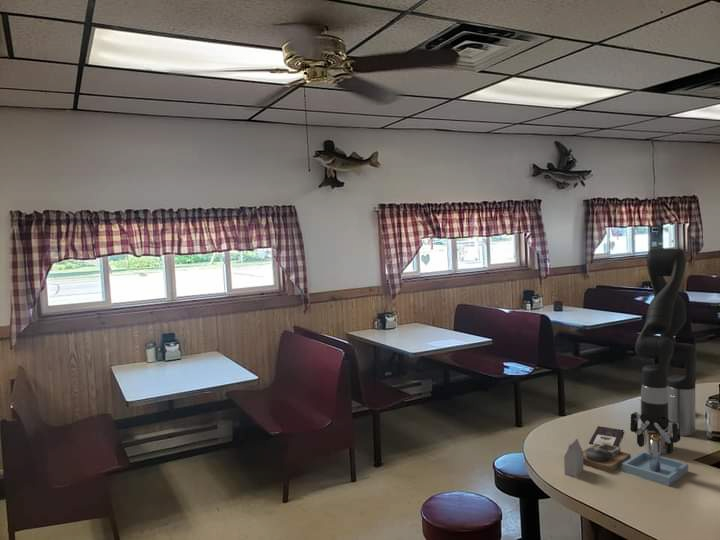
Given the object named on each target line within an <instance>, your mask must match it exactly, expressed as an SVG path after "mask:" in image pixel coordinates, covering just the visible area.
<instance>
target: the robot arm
mask: <svg viewBox="0 0 720 540" xmlns="http://www.w3.org/2000/svg"><path fill="white" fill-rule="evenodd" d="M686 265H687V257H686V253H685V251H684V250H683V249H682V248H681V249H680V248H653V249H650V250H649V251H648V253H647V254H646V266H647V271H648V276H649V279H650V283H651V287H652V291H653V298H652V299H651V301H650V303H649V305H648V307H647V308H648V309H647V311H646V319H645V323H644V326H643V328H642V329H641V331H640V333H639V335H638V337H637V339H636V341H635V345H634V351H635V353H636V355H637V356H639V357H640V358H643V359H652V360H659V362H658V363H657V364H648V365H644V366H643V367H642V369H641V389H640V390H641V391H640V413H638V412H637V411H635V412H633V413H631V414H630V432H632V433H635V434H636V443H637V445H638V447H641V448H642V447H644V434H643V432H644V431H645V430H646V429H648V430H649V431H654V432H657V433H659V432H660V434H661V435H662V436H663V437H664V438H665V440H666V441H667V443H666V454H665V455H671V454H672V453H674V451H675V449H674V448H675V447H674V444H677V443H678V442H680V441H681V436H682V437H683V436H685V437H686V436H687V437H690V436H694V435H695V434H696V378H697V377H696V376H697V375H696V370H697V355H698V354H697V348H696V345H694V344H691V343H683V342H673V338H674V337H675V336H676V335H677V333H678V332H679V331H680V330H681V329H682V328H683V326H684V325H685V323H686V321H687V318H688V317H687V308H686V302H685V299H683V297H682V296H681V295H680V293H679V291H680V288H681V285H682V281H683V278H684V275H685V272H686V268H687V267H686ZM665 277H670V278H669V280H668V282H667V281H666V279H665ZM657 335H660V336H657ZM669 368H674V369H681V370H682V369H684V372H680V373H679V374H673V375H670V376H668V374H669V373H668V372H669ZM641 412H642V414H641ZM639 420H640V422H641V421H642V422H643V425H642V426H641V425H640V427H638V425H639V424H638V423H639ZM667 426H668V428H667ZM664 431H665V432H664Z"/></svg>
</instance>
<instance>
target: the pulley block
mask: <svg viewBox="0 0 720 540" xmlns="http://www.w3.org/2000/svg"><path fill="white" fill-rule="evenodd" d="M621 450H622V449H621V447H620V446H617V447H616V446H613V445H609V444H606V443H603V444H601V445H597V444H595V445H592V446H590V447H589V448H586V449H584V450H583V466H587V467H590V468H593V469H595V470H599V471H602V472H604V473H605V472H606V473H608V474H611V473H612V472H614V471H616V470H618V469H619V468H620V467H622V463H624V462H626V461H627V460H629V459H630V458H632V456H631V455H632V454H631V453H628V452H624V451H621ZM615 469H616V470H615Z"/></svg>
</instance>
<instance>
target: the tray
mask: <svg viewBox="0 0 720 540" xmlns="http://www.w3.org/2000/svg"><path fill="white" fill-rule="evenodd" d="M621 471H622V472H623V473H626V474H629V475H632V476H636V477H638V476H639V478H641V477H642V478H641V479H644V480H647V481H651V482H655V483H657V484H660V485H664V486H667V487H670V486H671V485H673V484H675V482H676V481H678V480H679V479H681V478H682V477H684V475H686V474H687V473H689V463H686V462H682V461H678V460H675V459H672V458H668V457H665V456H662V455H661V471H660V472H654V471H651V470H650V453H649V452H648V451H643V450H642V451H641V452H639V453H637V454H635V455H634V456H631V458H630V459H629V460H627V461H626V462H624V463H622V466H621Z"/></svg>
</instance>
